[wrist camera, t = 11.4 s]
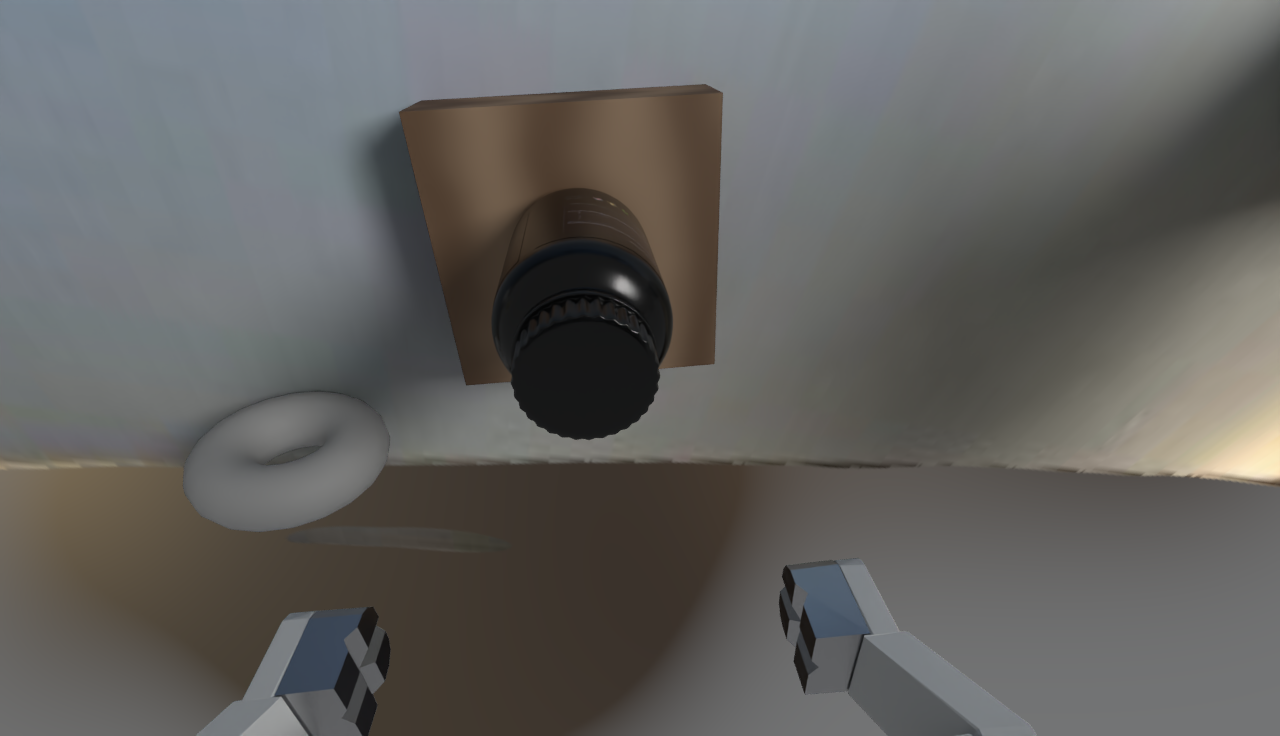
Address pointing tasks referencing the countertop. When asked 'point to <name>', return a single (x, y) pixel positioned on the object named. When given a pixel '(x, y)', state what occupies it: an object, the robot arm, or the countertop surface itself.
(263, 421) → the donut
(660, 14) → the countertop surface
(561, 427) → the supplement bottle
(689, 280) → the walnut base
